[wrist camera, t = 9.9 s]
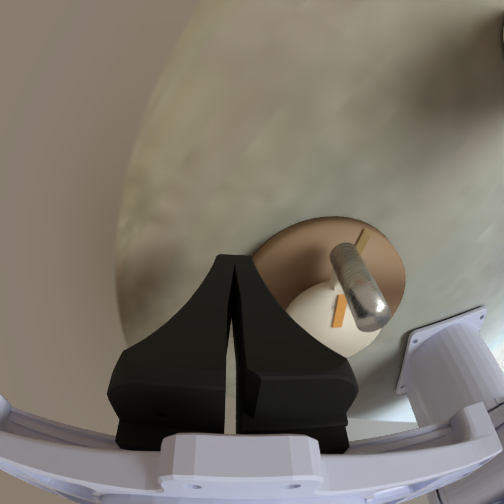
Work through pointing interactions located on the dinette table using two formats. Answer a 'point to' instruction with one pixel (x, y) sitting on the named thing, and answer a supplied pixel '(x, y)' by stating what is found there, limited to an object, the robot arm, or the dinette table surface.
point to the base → (327, 258)
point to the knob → (343, 304)
